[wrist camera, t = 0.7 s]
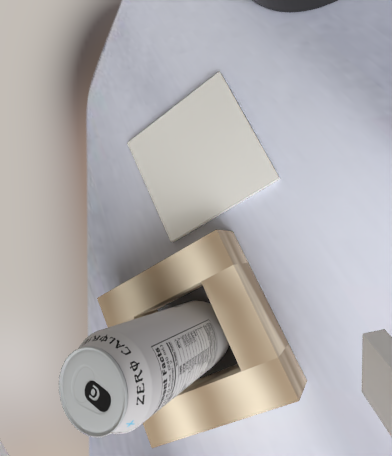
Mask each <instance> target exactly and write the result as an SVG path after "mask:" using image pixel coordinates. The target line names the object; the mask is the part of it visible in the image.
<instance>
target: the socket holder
mask: <svg viewBox="0 0 392 456" xmlns="http://www.w3.org/2000/svg"><path fill="white" fill-rule="evenodd" d="M202 286H203V287H204V289H205V292H206V294H207V296H208V298H209V300H210V303H211V305H212V307H213V309H214V312H215V314H216V316H217V318H218V320H219V323H220V325H221V327H222V329H223V332H224V334H225V336H226V338H227V340H228V343H229V345H230V347H231V349H232V351H233V354H234V356H235V358H236V360H237V363H238V364H236V365H233V366H231V367H228V368H225V369H223V370H220V371H218V372H215V373H213V374H210V375H208V376H205V377H202V378H200V379H197V380H196V381H194V382H193V383H192V384H191V385H189V386H188V387H187V388H186V389H184V390H183V391H182V392H181V393H179V394H178V395H177V396H176V397H175V398H173V399H172V400H171V401H170V402H168V403H167V404H166V405H165V406H163V407H162V408H161V409H160V410H158V411H157V412H156V413H155V414H154V415H152V416H151V417H150V418H149V419H147V420H146V421H145V422H144V423H143V425H144V428H145V431H146V433H147V436H148V439H149V442H150V444H151V447H152V448H154V447H157V446H160V445H163V444H167V443H170V442H173V441H176V440H179V439H182V438H185V437H188V436H191V435H195V434H198V433H201V432H204V431H207V430H210V429H213V428H216V427H219V426H223V425H226V424H229V423H232V422H235V421H238V420H241V419H244V418H247V417H251V416H254V415H257V414H260V413H263V412H266V411H269V410H272V409H275V408H279V407H282V406H285V405H288V404H291V403H294V402H297V401H299V400H300V398H301V395H302V393H303V390H304V388H305V385H306V382H307V380H306V378H305V376H304V374H303V372H302V370H301V368H300V366H299V364H298V362H297V360H296V358H295V356H294V354H293V352H292V350H291V348H290V346H289V344H288V342H287V340H286V338H285V336H284V334H283V332H282V330H281V328H280V326H279V324H278V322H277V320H276V318H275V316H274V314H273V312H272V310H271V307H270V305H269V303H268V301H267V299H266V297H265V295H264V293H263V291H262V289H261V287H260V285H259V283H258V281H257V279H256V277H255V275H254V273H253V271H252V269H251V267H250V265H249V263H248V261H247V259H246V257H245V255H244V253H243V251H242V249H241V247H240V245H239V243H238V241H237V239H236V237H235V235H234V233H233V231H225V230H217V229H216V230H215V231H213V232H211V233H209V234H208V235H206V236H204V237H202V238H201V239H199V240H197V241H195V242H194V243H192V244H190V245H189V246H187V247H185V248H183V249H182V250H180V251H178V252H176V253H175V254H173V255H171V256H169V257H168V258H166V259H164V260H162V261H161V262H159V263H157V264H156V265H154V266H152V267H150V268H149V269H147V270H145V271H143V272H142V273H140V274H138V275H136V276H135V277H133V278H131V279H130V280H128V281H126V282H124V283H123V284H121V285H119V286H117V287H116V288H114V289H112V290H110V291H109V292H107V293H105V294H103V295H102V296H100V297H98V298H97V299H98V302H99V304H100V307H101V310H102V313H103V315H104V318H105V321H106V324H107V326H108V327H111V326H115V325H118V324H121V323H124V322H127V321H130V320H133V319H137V318H140V317H143V316H146V315H149V314H152V313H155V312H158V310H157V309H159V308H161V307H163V306H165V305H167V304H169V303H171V302H173V301H175V300H176V299H178V298H180V297H182V296H184V295H186V294H188V293H190V292H192V291H194V290H196V289H198V288H200V287H202Z"/></svg>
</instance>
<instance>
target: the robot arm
mask: <svg viewBox="0 0 392 456" xmlns="http://www.w3.org/2000/svg"><path fill="white" fill-rule="evenodd" d="M253 1H255V2H256V3H258V4H259V5H261V6H264V7H266V8H269V9H272V10H276V11H283V12H299V11H306V10H311V9H315V8H319V7H322V6H325V5H327V4H330V3H332V2H335V1H337V0H253ZM362 393H363V394H364V396H365V397H366V399H367V400H368V402H369V404H370V405H371V407H372V408H373V410H374V411H375V413H376V414H377V416H378V417H379V419H380V420H381V422H382V423H383V425H384V426H385V428H386V429H387V431H388V432H389V434H390V435H391V437H392V337H391V336H390V335H389V334H388V333H387V331H386V330H385V329H383V330H378V331H374V332H369V333H364V334H363V349H362ZM0 456H9V454H8V452H7V451H6V449H5V447H4V446H3V444H2V442H1V441H0Z"/></svg>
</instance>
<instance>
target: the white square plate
mask: <svg viewBox="0 0 392 456" xmlns="http://www.w3.org/2000/svg"><path fill="white" fill-rule="evenodd" d="M127 144H128V146H129V148H130V151H131V153H132V155H133V158H134V160H135V162H136V164H137V167H138V169H139V171H140V173H141V176H142V178H143V180H144V182H145V185H146V187H147V189H148V192H149V194H150V196H151V198H152V201H153V203H154V205H155V207H156V210H157V212H158V214H159V216H160V219H161V221H162V223H163V226H164V228H165V230H166V232H167V235H168V237H169V239H170V241H171V242H175V241H177V240H178V239H180V238H182V237H183V236H185V235H187V234H188V233H190V232H192V231H194V230H195V229H197V228H199V227H200V226H202V225H204V224H205V223H207V222H209V221H210V220H212V219H214V218H215V217H217V216H219V215H221V214H222V213H224V212H226V211H227V210H229V209H231V208H232V207H234V206H236V205H237V204H239V203H241V202H242V201H244V200H246V199H248V198H249V197H251V196H253V195H254V194H256V193H258V192H259V191H261V190H263V189H264V188H266V187H268V186H270V185H271V184H273V183H275V182H276V181H278V180H280V177H279V176H278V174H277V172H276V170H275V169H274V167H273V165H272V163H271V161H270V160H269V158H268V156H267V154H266V152H265V151H264V149H263V147H262V145H261V144H260V142H259V140H258V138H257V136H256V135H255V133H254V131H253V129H252V127H251V126H250V124H249V122H248V120H247V119H246V117H245V115H244V113H243V111H242V110H241V108H240V106H239V104H238V102H237V101H236V99H235V97H234V95H233V94H232V92H231V90H230V88H229V86H228V85H227V83H226V81H225V79H224V77H223V76H222V74H221V73H220V71H219V72H218V73H217V74H215V75H214V76H213V77H211V78H210V79H209V80H208V81H206V82H205V83H204V84H202V85H201V86H200V87H199V88H197V89H196V90H195V91H193V92H192V93H191V94H190V95H188V96H187V97H186V98H184V99H183V100H182V101H181V102H179V103H178V104H177V105H175V106H174V107H173V108H171V109H170V110H169V111H168V112H166V113H165V114H164V115H162V116H161V117H160V118H159V119H157V120H156V121H155V122H153V123H152V124H151V125H150V126H148V127H147V128H146V129H144V130H143V131H142V132H141V133H139V134H138V135H137V136H135V137H134V138H133V139H132V140H130V141H129V142H128V143H127Z"/></svg>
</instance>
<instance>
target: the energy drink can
mask: <svg viewBox="0 0 392 456" xmlns="http://www.w3.org/2000/svg"><path fill="white" fill-rule="evenodd" d="M228 345H229V343H228V340H227V338H226V336H225V334H224V332H223V329H222V327H221V325H220V323H219V320H218V318H217V316H216V314H215V312H214V309H213V307H212V305H211V304H209V303H206V302H203V301H190V302H187V303H184V304H180V305H177V306H174V307H171V308H168V309H165V310H162V311H159V312H155V313H152V314H149V315H146V316H143V317H140V318H137V319H133V320H130V321H127V322H124V323H121V324H118V325H115V326H111V327H108V328H105V329H102V330H99V331H96V332H94V333H93V334H91V335H89V336H88V337H87V338H86V339H85V340H84V341H83V343H82V344H81V345H80V347H79V348H78V349H77V350H75V351H73V352H72V353H71V354H70V355H69V356H68V357H67V359H66V360H65V361H64V364H63V366H62V368H61V372H60V376H59V394H60V400H61V403H62V407H63V409H64V411H65V414H66V416H67V417H68V419H69V420H70V422H71V423H72V424H73V425H74V426H75V428H77V429H78V430H79V431H80V432H82V433H83V434H85V435H88V436H90V437H95V438H97V437H104V436H107V435H109V434H124V433H128V432H130V431H133V430H134V429H136V428H137V427H139V426H140V425H141V424H142V423H144V422H145V421H146V420H147V419H149V418H150V417H151V416H152V415H154V414H155V413H156V412H157V411H158V410H160V409H161V408H162V407H163V406H165V405H166V404H167V403H168V402H170V401H171V400H172V399H173V398H175V397H176V396H177V395H178V394H179V393H181V392H182V391H183V390H184V389H186V388H187V387H188V386H189V385H191V384H192V383H193V382H194V381H196V380H197V379H198V378H199V377H200V376H202V375H203V374H204V373H205V372H207V371H208V370H209V369H210V368H212V367H213V366H214V365H215V364H217V363H218V362H219V361H220V360H221V359H222V358H223V357H224V355H225V353H226V351H227V349H228Z"/></svg>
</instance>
